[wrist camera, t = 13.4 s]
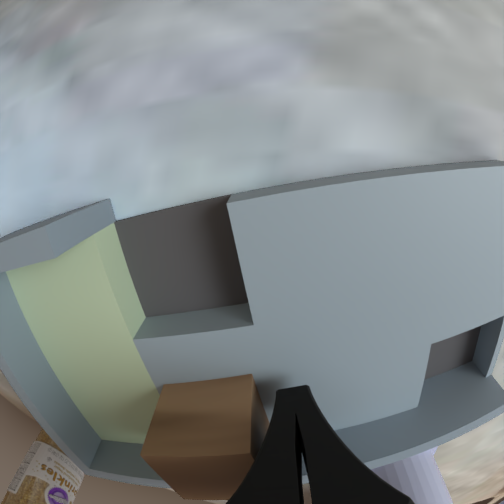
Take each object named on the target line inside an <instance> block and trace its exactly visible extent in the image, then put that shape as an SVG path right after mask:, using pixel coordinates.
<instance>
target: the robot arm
mask: <svg viewBox="0 0 504 504" xmlns="http://www.w3.org/2000/svg"><path fill="white" fill-rule="evenodd" d="M437 447H438V446H436V447H434V448H432V449H429V450H427V451H424V452H422V453H419V454H416V455H414V456H411V457H408V458H405V459H402V460H399V461H396V462H393V463H390V464H387V465H384V466H381V467H377V468H374V469H369V468H368V467H367V466H366V465H365V464H364V463H363V462H362V461H361V460H359V459H358V458H357V457H356V456H355V455H354V453H353V452H352V451H351V450H350V449H349V448H348V447H347V446H346V445H345V444H344V442H343V441H342V440H341V439H340V438H339V436H338V435H337V434H336V432H335V431H334V430H333V428H332V427H331V426H330V424H329V423H328V421H327V420H326V418H325V417H324V415H323V413H322V412H321V410H320V408H319V407H318V405H317V403H316V401H315V399H314V397H313V395H312V392H311V390H310V386H308V385H302V386H296V387H290V388H284V389H278V390H277V391H276V398H275V404H274V409H273V413H272V417H271V420H270V424H269V427H268V430H267V433H266V435H265V438H264V440H263V443H262V445H261V448H260V450H259V452H258V454H257V456H256V458H255V460H254V462H253V464H252V466H251V468H250V470H249V471H248V473H247V475H246V476H245V478H244V480H243V481H242V483H241V484H240V486H239V487H238V489H237V490H236V491H235V493H234V494H233V495H232V497H231V498H230V499H229V500H228V502H227V503H226V504H304V499H303V488H302V455H303V459H304V463H305V467H306V471H307V476H308V480H309V485H310V490H311V498H312V504H453V502H452V499H451V497H450V494H449V492H448V489H447V487H446V484H445V482H444V480H443V477H442V475H441V473H440V470H439V468H438V466H437V463H436V461H435V459H434V457H433V455H434V453H435V451H436V449H437ZM499 504H504V501H502V502H501V503H499Z"/></svg>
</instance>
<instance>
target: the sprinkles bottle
mask: <svg viewBox="0 0 504 504" xmlns="http://www.w3.org/2000/svg"><path fill="white" fill-rule="evenodd" d="M83 477H84V472H83V471H82V470H80V469H79V468H78V467H77V466H76V465H75V464H74V463H73V462H72V461H71V459H70V458H69V457H68V456H67V455H66V454H65V453H64V452H63V451H62V450H61V449H60V448H59V447H58V446H57V444H56V443H55V442H54V441H53V440H52V439H51V438H50V436H49V435H48V434H47V433H46V432H45V431H44V429H42V431H41V432H40V434H39V436H38V438H37V439H36V441H35V442H33V444H32V446H31V447H30V449H29V451H28V453H27V454H26V456H25V458H24V460H23V462H22V463H21V465H20V467H19V469H18V471H17V472H16V474H15V476H14V478H13V480H12V482H11V484H10V485H9V487H8V489H7V493H6V495H5V498H4V500H3V501H2V503H1V504H73V501H74V499H75V497H76V494H77V492H78V489H79V487H80V485H81V482H82V480H83Z"/></svg>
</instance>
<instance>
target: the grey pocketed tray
mask: <svg viewBox="0 0 504 504" xmlns="http://www.w3.org/2000/svg"><path fill="white" fill-rule="evenodd" d="M503 338H504V161H498V160H495V161H477V162H461V163H448V164H436V165H425V166H415V167H405V168H396V169H388V170H379V171H371V172H364V173H356V174H349V175H342V176H335V177H328V178H322V179H315V180H309V181H303V182H297V183H291V184H285V185H279V186H274V187H268V188H263V189H257V190H252V191H247V192H242V193H237V194H232V195H227V196H222V197H217V198H212V199H207V200H203V201H198V202H194V203H189V204H185V205H180V206H176V207H172V208H167V209H163V210H159V211H155V212H151V213H147V214H143V215H139V216H135V217H131V218H127V219H123V220H119V221H116V220H115V216H114V212H113V209H112V205H111V201H110V199H107V200H103V201H100V202H97V203H94V204H91V205H88V206H84V207H81V208H78V209H75V210H72V211H69V212H67V213H64V214H61V215H58V216H55V217H52V218H50V219H47V220H44V221H41V222H39V223H36V224H33V225H31V226H28V227H25V228H23V229H20V230H18V231H15V232H13V233H10V234H8V235H6V236H4V237H2V238H0V369H1V371H2V372H3V374H4V375H5V377H6V379H7V380H8V382H9V383H10V385H11V386H12V388H13V389H14V391H15V392H16V394H17V395H18V397H19V398H20V399H21V401H22V402H23V404H24V405H25V406H26V408H27V409H28V410H29V412H30V413H31V414H32V416H33V417H34V418H35V419H36V421H37V422H38V423H39V424H40V426H41V427H42V428H43V429H44V431H45V432H46V433H47V434H48V435H49V436H50V438H51V439H52V440H53V441H54V442H55V443H56V444H57V446H58V447H59V448H60V449H61V450H62V451H63V452H64V453H65V454H66V455H67V456H68V457H69V458H70V459H71V461H72V462H73V463H74V464H75V465H76V466H77V467H78V468H79V469H80V470H82V471H83V472H84V473H85V474H86V475H90V476H94V477H99V478H104V479H109V480H114V481H119V482H125V483H131V484H138V485H145V486H153V487H162V488H171V487H170V486H169V485H168V484H167V483H166V482H165V481H164V480H163V479H162V478H161V477H160V476H159V475H158V474H157V473H156V472H155V471H154V470H153V469H152V468H151V467H150V466H149V465H148V464H147V462H146V461H145V460H144V459H143V458H142V457H141V456H140V453H141V450H142V447H143V444H144V441H145V438H146V435H147V432H148V429H149V426H150V423H151V420H152V417H153V414H154V411H155V408H156V405H157V402H158V399H159V396H160V394H161V391H162V388H163V385H164V384H175V383H185V382H195V381H203V380H212V379H219V378H227V377H233V376H240V375H246V374H252V375H253V378H254V381H255V384H256V387H257V390H258V392H259V395H260V398H261V401H262V404H263V406H264V409H265V412H266V415H267V418H268V420H269V423H270V420H271V417H272V413H273V409H274V404H275V398H276V391H277V390H278V389H284V388H290V387H296V386H302V385H308V386H310V390H311V392H312V395H313V397H314V399H315V401H316V403H317V405H318V407H319V408H320V410H321V412H322V413H323V415H324V417H325V418H326V420H327V421H328V423H329V424H330V426H331V427H332V428H333V430H334V431H335V432H336V434H337V435H338V436H339V438H340V439H341V440H342V441H343V442H344V444H345V445H346V446H347V447H348V448H349V449H350V450H351V451H352V452H353V453H354V455H355V456H356V457H357V458H358V459H359V460H361V461H362V462H363V463H364V464H365V465H366V466H367V467H368V468H369V469H374V468H377V467H381V466H384V465H387V464H390V463H393V462H396V461H399V460H402V459H405V458H408V457H411V456H414V455H416V454H419V453H422V452H424V451H427V450H429V449H432V448H434V447H436V446H439V445H441V444H443V443H446V442H448V441H450V440H452V439H455V438H457V437H459V436H461V435H463V434H465V433H467V432H469V431H471V430H473V429H475V428H477V427H479V426H480V425H482V424H484V423H486V422H488V421H490V420H491V419H493V418H495V417H497V416H498V415H500V414H502V413H503V412H504V390H503V389H502V388H501V386H500V385H499V384H498V382H497V381H496V380H495V379H494V377H493V376H492V375H491V374H492V372H493V369H494V366H495V363H496V360H497V357H498V354H499V351H500V348H501V345H502V342H503ZM305 483H309V480H308V476H307V471H306V467H305V463H304V459H303V455H302V484H305Z"/></svg>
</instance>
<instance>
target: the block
mask: <svg viewBox="0 0 504 504" xmlns="http://www.w3.org/2000/svg"><path fill="white" fill-rule="evenodd" d="M269 424H270V423H269V420H268V418H267V415H266V412H265V409H264V406H263V404H262V401H261V398H260V395H259V392H258V390H257V387H256V384H255V381H254V378H253V375H252V374H246V375H240V376H233V377H227V378H219V379H212V380H203V381H195V382H185V383H175V384H164V385H163V388H162V391H161V394H160V396H159V399H158V402H157V405H156V408H155V411H154V414H153V417H152V420H151V423H150V426H149V429H148V432H147V435H146V438H145V441H144V444H143V447H142V450H141V453H140V456H141V457H142V458H143V459H144V460H145V461H146V462H147V464H148V465H149V466H150V467H151V468H152V469H153V470H154V471H155V472H156V473H157V474H158V475H159V476H160V477H161V478H162V479H163V480H164V481H165V482H166V483H167V484H168V485H169V486H170V487H171V488H172V489H173V490H174V491H175V492H177V493H178V494H179V495H180V496H181V497H182V498H183V499H192V500H229V499H230V498H231V497H232V495H233V494H234V493H235V491H236V490H237V489H238V487H239V486H240V484H241V483H242V481H243V480H244V478H245V476H246V475H247V473H248V471H249V470H250V468H251V466H252V464H253V462H254V460H255V458H256V456H257V454H258V452H259V450H260V448H261V445H262V443H263V440H264V438H265V435H266V433H267V430H268V427H269Z"/></svg>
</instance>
